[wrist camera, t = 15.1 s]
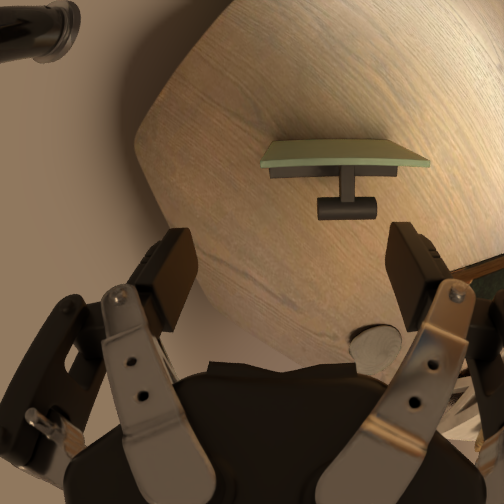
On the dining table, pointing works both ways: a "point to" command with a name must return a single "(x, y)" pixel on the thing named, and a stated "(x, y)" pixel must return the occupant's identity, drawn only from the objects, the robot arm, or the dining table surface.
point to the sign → (342, 168)
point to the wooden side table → (464, 415)
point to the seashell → (375, 349)
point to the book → (483, 277)
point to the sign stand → (331, 171)
